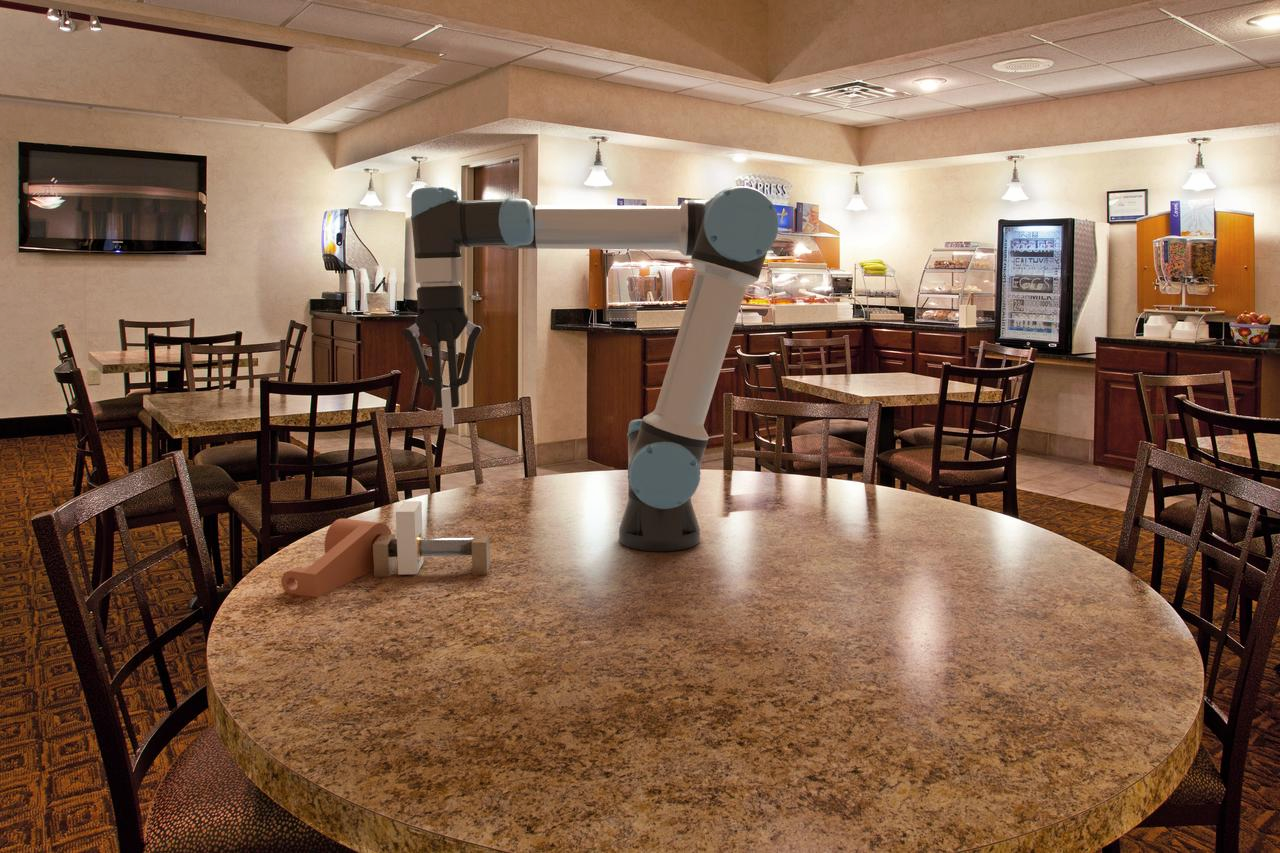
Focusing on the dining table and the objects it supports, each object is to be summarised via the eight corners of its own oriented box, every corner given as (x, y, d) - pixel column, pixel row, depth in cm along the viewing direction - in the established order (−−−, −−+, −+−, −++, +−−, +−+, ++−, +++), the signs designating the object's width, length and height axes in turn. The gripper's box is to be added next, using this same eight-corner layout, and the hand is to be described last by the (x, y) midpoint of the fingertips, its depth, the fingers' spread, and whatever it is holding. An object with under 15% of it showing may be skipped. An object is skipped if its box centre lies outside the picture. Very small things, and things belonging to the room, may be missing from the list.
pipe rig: (490, 563, 160) (489, 531, 159) (487, 574, 154) (486, 541, 154) (381, 565, 159) (380, 533, 158) (374, 577, 153) (372, 543, 152)
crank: (355, 557, 165) (352, 513, 164) (393, 561, 162) (391, 517, 161) (275, 592, 146) (272, 544, 145) (317, 599, 144) (314, 549, 142)
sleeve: (423, 561, 160) (421, 501, 158) (416, 574, 153) (414, 511, 151) (406, 561, 160) (403, 501, 158) (398, 574, 153) (395, 511, 151)
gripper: (481, 283, 157) (489, 421, 161) (402, 286, 156) (412, 425, 160) (478, 283, 150) (486, 428, 153) (395, 286, 148) (406, 432, 152)
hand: (448, 426), depth 157 cm, fingers closed
